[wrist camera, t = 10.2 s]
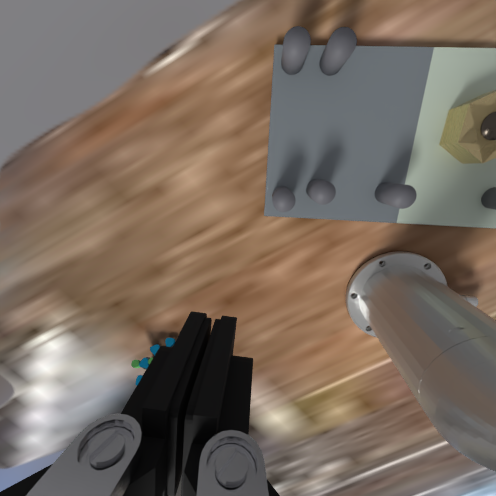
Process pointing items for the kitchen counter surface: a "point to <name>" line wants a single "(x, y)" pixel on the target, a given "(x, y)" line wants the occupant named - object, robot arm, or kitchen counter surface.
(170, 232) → the kitchen counter surface
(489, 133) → the nut
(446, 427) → the robot arm
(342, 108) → the spacer board
